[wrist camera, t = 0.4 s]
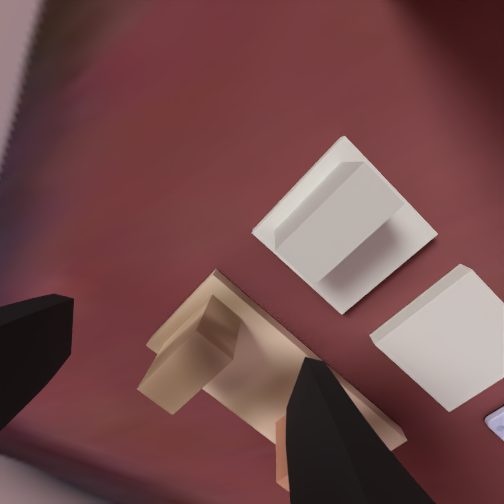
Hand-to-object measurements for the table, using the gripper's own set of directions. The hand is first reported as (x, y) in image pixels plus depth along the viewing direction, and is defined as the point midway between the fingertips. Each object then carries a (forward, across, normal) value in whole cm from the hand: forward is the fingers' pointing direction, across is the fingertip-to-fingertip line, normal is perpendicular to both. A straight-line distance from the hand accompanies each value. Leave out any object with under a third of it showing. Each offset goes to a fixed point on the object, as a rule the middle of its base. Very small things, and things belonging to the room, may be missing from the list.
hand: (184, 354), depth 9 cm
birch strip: (+10, -6, +8) cm, 14 cm away
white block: (+10, -11, -1) cm, 14 cm away
